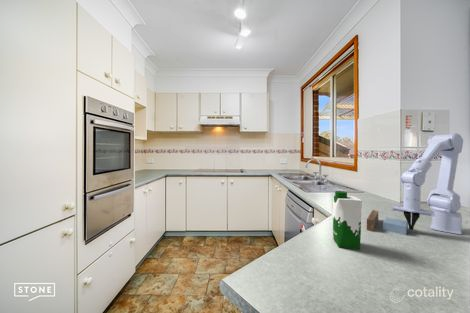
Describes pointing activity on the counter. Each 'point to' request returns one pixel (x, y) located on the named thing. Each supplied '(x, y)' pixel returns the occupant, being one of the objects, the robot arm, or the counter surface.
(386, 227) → the block
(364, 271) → the counter surface
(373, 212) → the board
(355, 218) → the milk carton
